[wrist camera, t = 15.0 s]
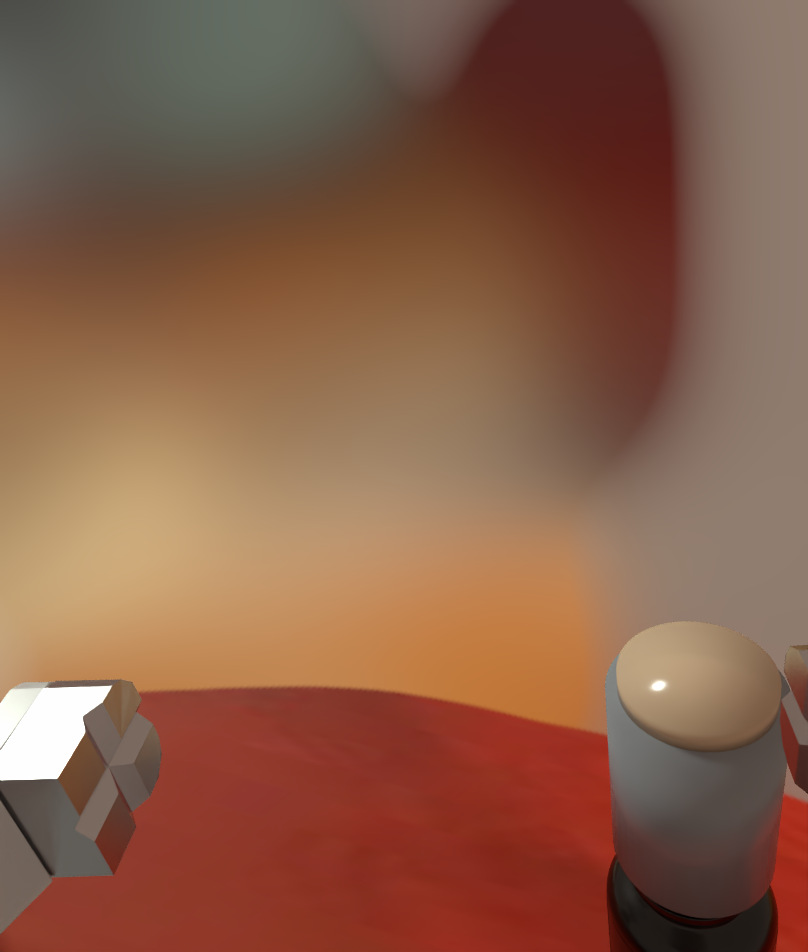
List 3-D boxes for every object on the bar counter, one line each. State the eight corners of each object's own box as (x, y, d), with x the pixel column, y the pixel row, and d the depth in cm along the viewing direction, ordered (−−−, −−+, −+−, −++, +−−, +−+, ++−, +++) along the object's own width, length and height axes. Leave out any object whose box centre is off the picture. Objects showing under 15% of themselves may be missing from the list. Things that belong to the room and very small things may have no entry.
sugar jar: (623, 917, 28) (615, 747, 24) (604, 779, 34) (595, 618, 29) (796, 919, 27) (823, 742, 23) (750, 777, 32) (764, 609, 28)
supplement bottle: (800, 1016, 35) (826, 853, 29) (698, 1125, 32) (704, 968, 26) (678, 900, 40) (680, 743, 35) (582, 985, 38) (566, 830, 32)
